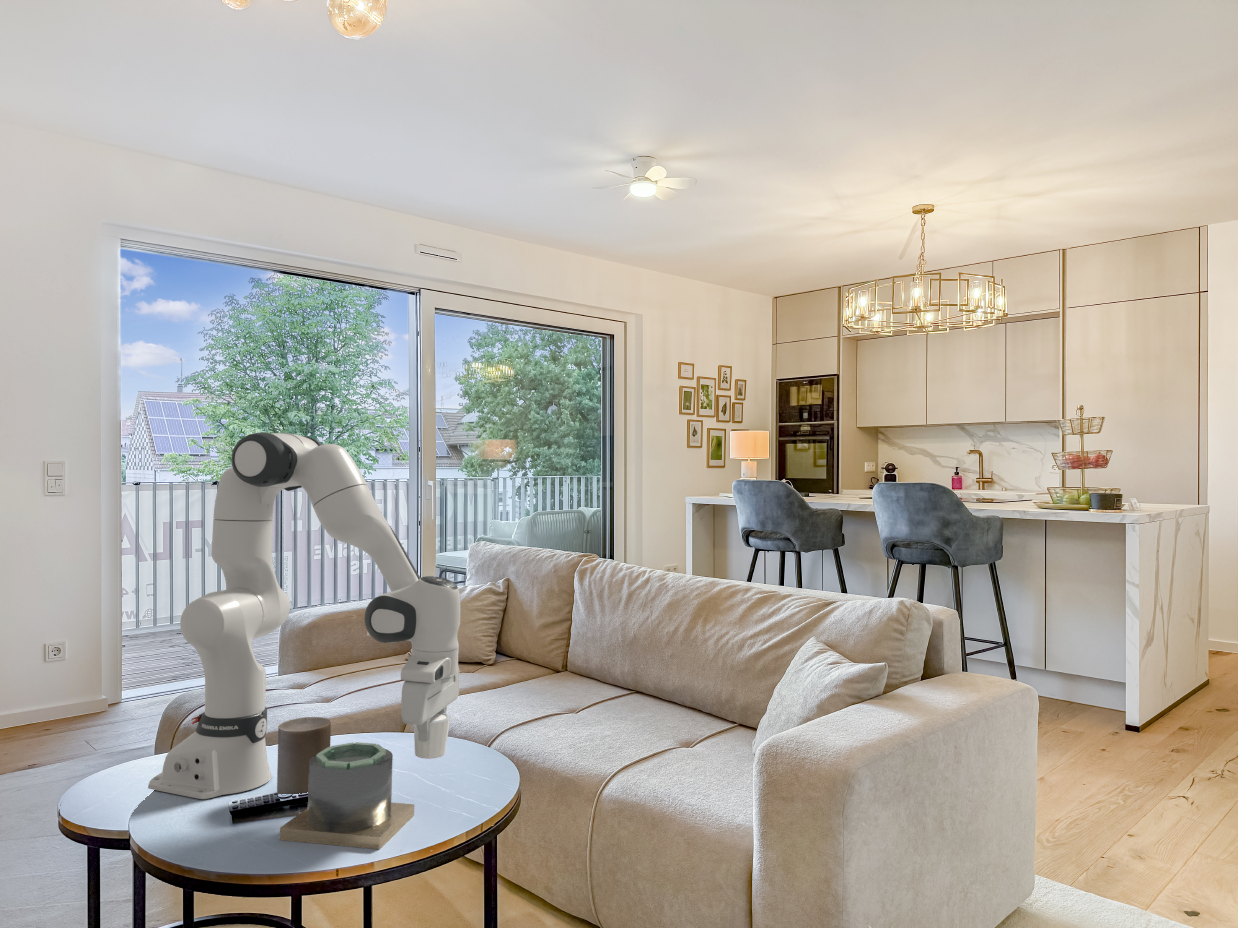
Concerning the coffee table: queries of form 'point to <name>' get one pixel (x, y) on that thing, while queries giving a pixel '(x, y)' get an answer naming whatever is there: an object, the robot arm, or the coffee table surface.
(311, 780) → the green-rimmed dark canister
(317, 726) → the pillar candle
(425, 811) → the coffee table surface
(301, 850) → the coffee table surface
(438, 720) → the white cylinder
